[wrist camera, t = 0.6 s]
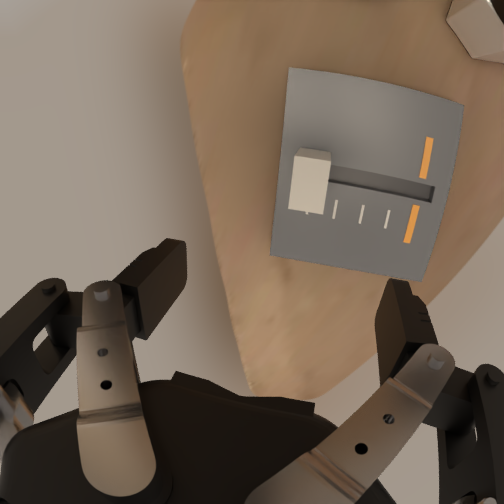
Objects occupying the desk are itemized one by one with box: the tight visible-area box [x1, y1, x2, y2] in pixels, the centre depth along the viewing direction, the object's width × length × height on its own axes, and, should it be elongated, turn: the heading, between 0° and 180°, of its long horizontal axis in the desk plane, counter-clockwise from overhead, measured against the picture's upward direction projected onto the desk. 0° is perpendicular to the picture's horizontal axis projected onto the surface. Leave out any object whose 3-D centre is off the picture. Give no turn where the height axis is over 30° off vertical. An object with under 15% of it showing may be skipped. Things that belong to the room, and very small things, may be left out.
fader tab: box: [288, 147, 331, 214], centre depth 25 cm, size 4×3×6 cm, turn 175°
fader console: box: [270, 67, 464, 282], centre depth 27 cm, size 18×16×3 cm
